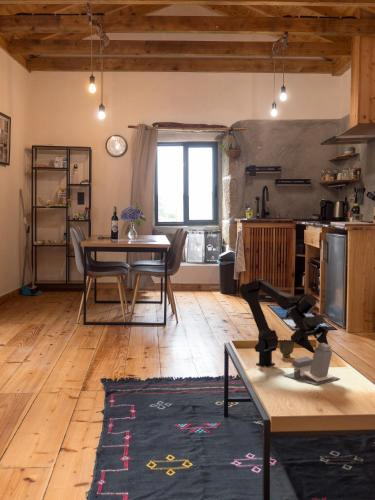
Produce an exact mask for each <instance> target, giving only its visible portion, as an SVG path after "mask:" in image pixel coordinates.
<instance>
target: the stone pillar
mask: <svg viewBox="0 0 375 500" xmlns="http://www.w3.org/2000/svg"><path fill="white" fill-rule="evenodd" d="M331 347H332V346H331V345H330V344H328V345H327V344H325V343H318V344H317V347H314V351H315V352H314V353H312V354H313V356H312V358H311V359H312V364H311V369H310V373H311V374H313V375H314V376H316V377H318V378H322V377H326V376H327V374H329V368H330V364H331V361H332V355H333V351H332V350H331Z"/></svg>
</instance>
